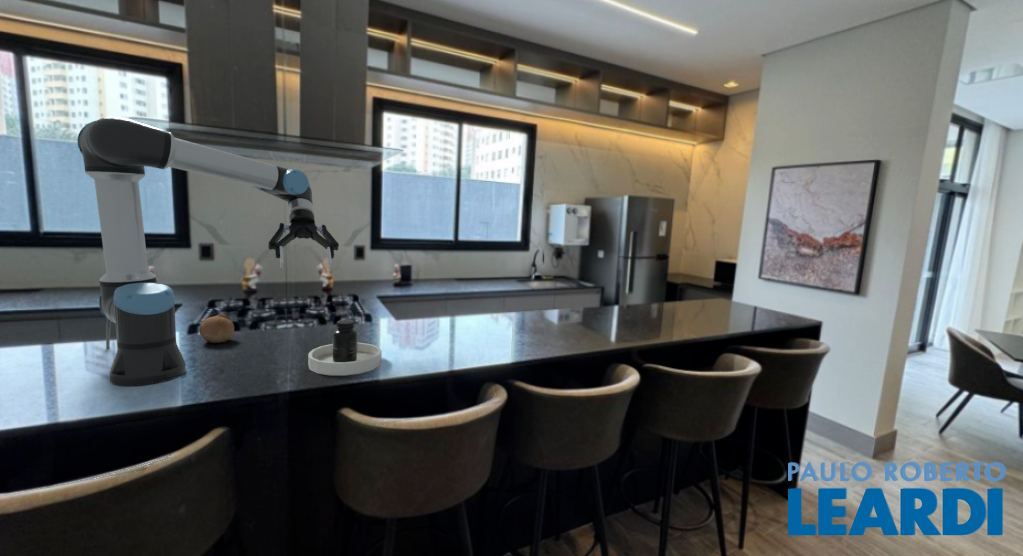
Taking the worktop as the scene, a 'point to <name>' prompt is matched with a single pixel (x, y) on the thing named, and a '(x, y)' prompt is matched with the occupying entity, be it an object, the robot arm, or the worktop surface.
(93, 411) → the worktop surface
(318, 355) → the round tray
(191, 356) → the worktop surface
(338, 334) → the supplement bottle
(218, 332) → the onion
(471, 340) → the worktop surface
